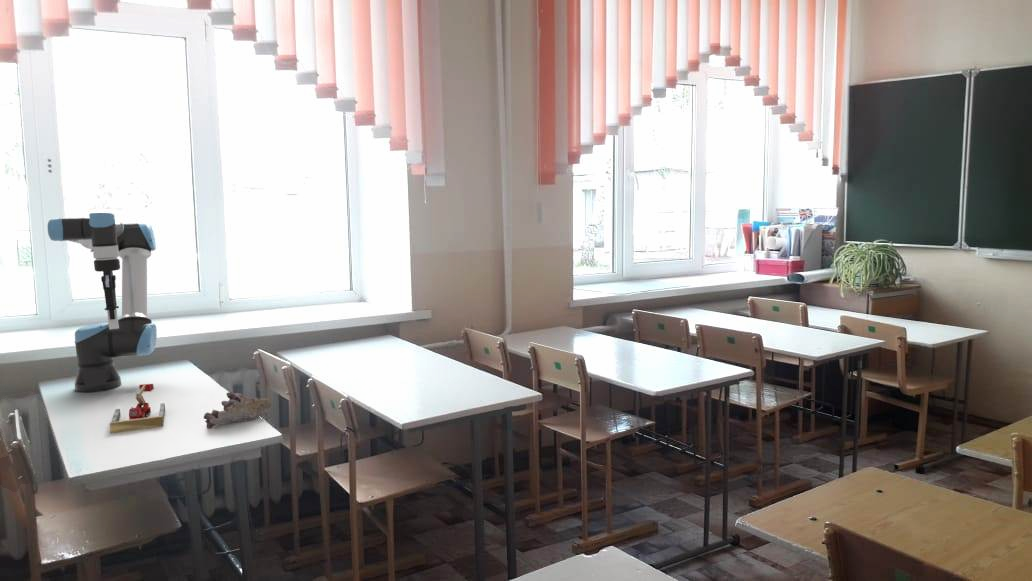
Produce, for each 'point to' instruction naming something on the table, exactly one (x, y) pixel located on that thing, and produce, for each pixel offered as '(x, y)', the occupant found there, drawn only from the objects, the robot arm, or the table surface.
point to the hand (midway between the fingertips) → (113, 328)
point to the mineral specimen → (237, 410)
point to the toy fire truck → (139, 410)
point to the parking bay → (136, 421)
